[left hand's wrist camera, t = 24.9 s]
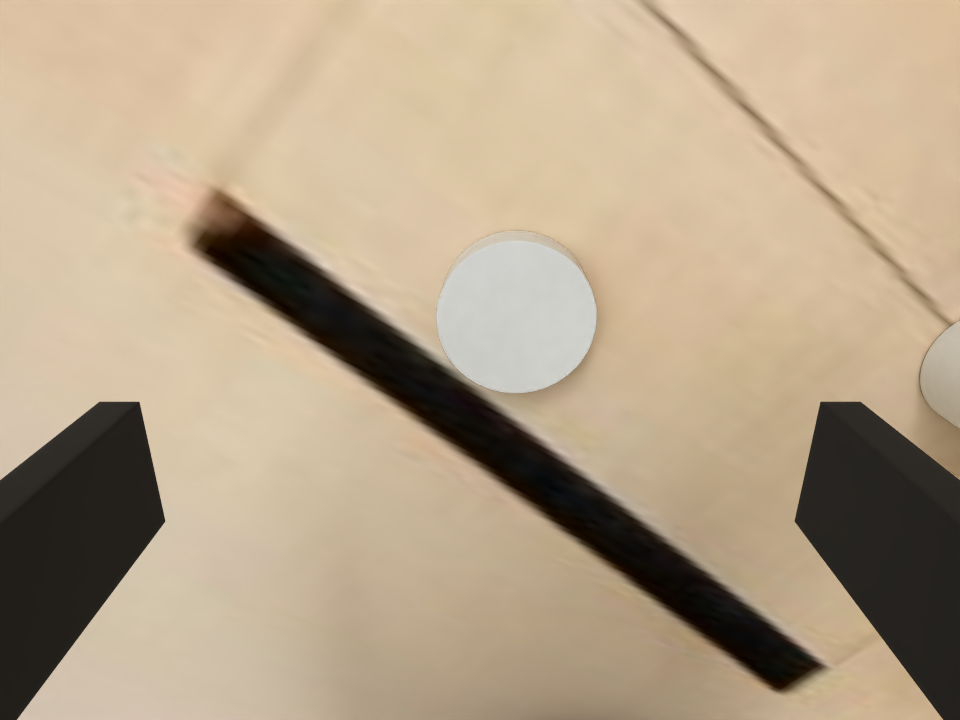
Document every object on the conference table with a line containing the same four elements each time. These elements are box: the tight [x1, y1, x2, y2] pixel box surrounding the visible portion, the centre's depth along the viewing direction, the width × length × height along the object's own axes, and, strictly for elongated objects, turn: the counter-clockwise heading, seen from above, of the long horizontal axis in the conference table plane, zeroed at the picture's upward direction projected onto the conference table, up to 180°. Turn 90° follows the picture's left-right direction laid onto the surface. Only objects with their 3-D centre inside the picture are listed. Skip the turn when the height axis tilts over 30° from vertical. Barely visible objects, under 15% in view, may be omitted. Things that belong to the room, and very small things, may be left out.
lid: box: [436, 231, 597, 393], centre depth 22 cm, size 5×5×2 cm
